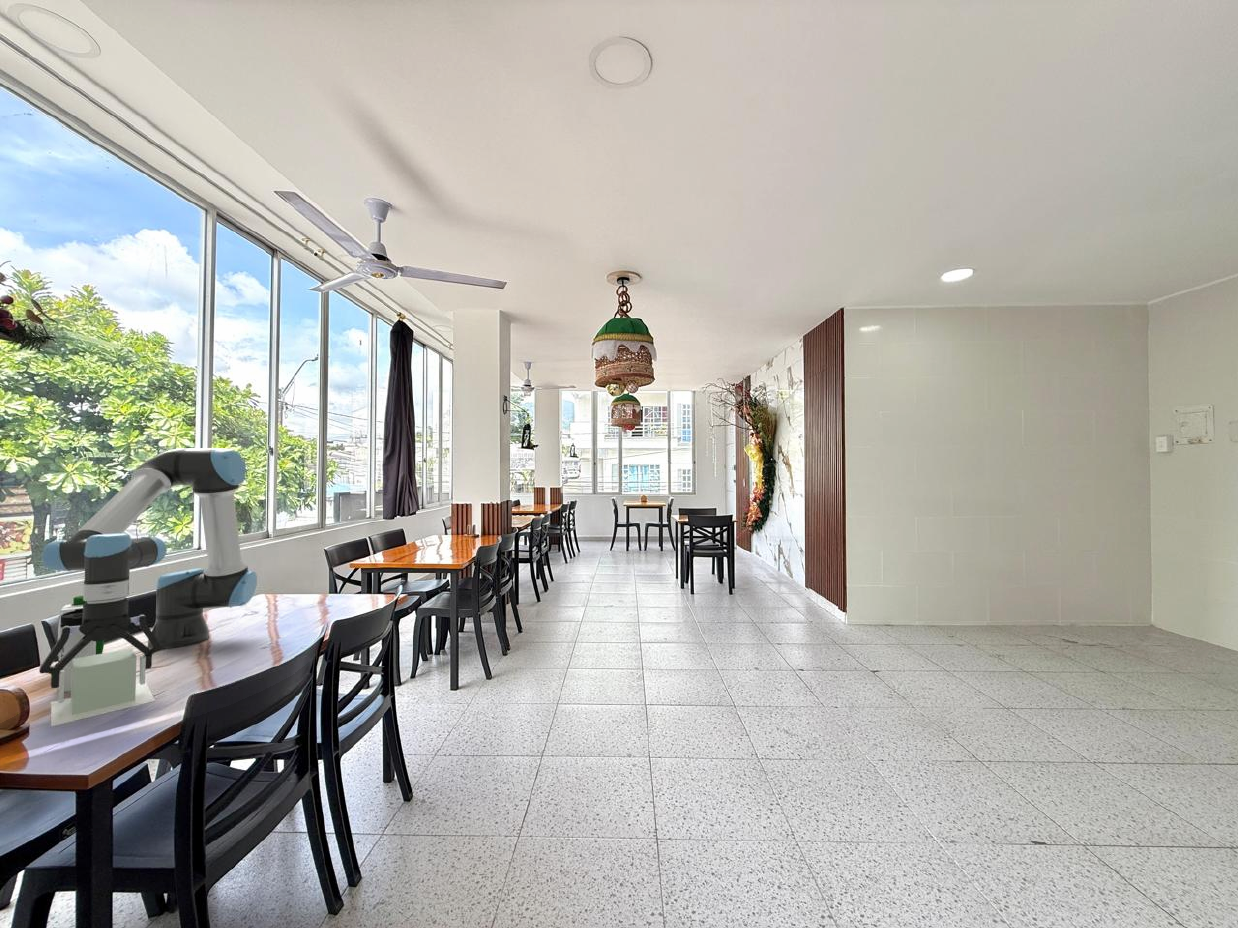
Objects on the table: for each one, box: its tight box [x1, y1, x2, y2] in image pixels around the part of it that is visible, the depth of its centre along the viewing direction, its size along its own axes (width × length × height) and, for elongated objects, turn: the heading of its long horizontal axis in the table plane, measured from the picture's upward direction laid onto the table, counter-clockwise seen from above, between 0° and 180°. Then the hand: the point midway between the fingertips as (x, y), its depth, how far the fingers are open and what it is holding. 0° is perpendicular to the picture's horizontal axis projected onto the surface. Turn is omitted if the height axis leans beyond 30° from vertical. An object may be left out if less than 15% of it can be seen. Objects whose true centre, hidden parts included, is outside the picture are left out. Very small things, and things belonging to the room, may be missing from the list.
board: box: [50, 681, 156, 727], centre depth 116 cm, size 18×16×1 cm
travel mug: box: [57, 608, 96, 694], centre depth 125 cm, size 6×7×20 cm
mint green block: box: [70, 647, 138, 715], centre depth 116 cm, size 10×10×10 cm
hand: (103, 691), depth 116 cm, fingers open, 12 cm apart
